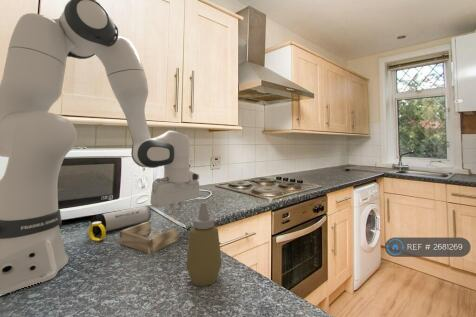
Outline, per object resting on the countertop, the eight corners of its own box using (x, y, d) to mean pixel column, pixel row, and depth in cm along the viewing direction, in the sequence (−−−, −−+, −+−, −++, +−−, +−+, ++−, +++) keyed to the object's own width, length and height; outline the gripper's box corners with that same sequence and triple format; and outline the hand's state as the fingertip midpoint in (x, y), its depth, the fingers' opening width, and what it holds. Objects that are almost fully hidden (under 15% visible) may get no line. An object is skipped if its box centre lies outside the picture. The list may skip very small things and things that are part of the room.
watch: (86, 241, 76) (85, 223, 75) (94, 238, 78) (92, 220, 78) (101, 242, 74) (99, 224, 74) (108, 239, 77) (106, 221, 76)
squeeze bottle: (201, 295, 49) (201, 210, 47) (179, 279, 54) (178, 203, 53) (228, 278, 55) (228, 202, 53) (206, 266, 60) (205, 197, 59)
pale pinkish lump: (166, 237, 79) (151, 236, 79) (166, 228, 79) (151, 228, 79) (160, 243, 74) (145, 243, 74) (160, 234, 74) (144, 234, 74)
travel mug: (143, 220, 97) (89, 233, 82) (143, 204, 97) (88, 214, 82) (151, 223, 93) (95, 237, 78) (151, 206, 93) (95, 217, 78)
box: (150, 254, 66) (149, 240, 66) (120, 243, 73) (119, 231, 73) (177, 240, 76) (177, 228, 76) (148, 232, 83) (148, 221, 83)
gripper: (159, 179, 73) (159, 223, 73) (202, 174, 90) (201, 210, 90) (146, 178, 76) (146, 220, 76) (190, 173, 93) (189, 207, 94)
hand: (176, 214), depth 84 cm, fingers closed
